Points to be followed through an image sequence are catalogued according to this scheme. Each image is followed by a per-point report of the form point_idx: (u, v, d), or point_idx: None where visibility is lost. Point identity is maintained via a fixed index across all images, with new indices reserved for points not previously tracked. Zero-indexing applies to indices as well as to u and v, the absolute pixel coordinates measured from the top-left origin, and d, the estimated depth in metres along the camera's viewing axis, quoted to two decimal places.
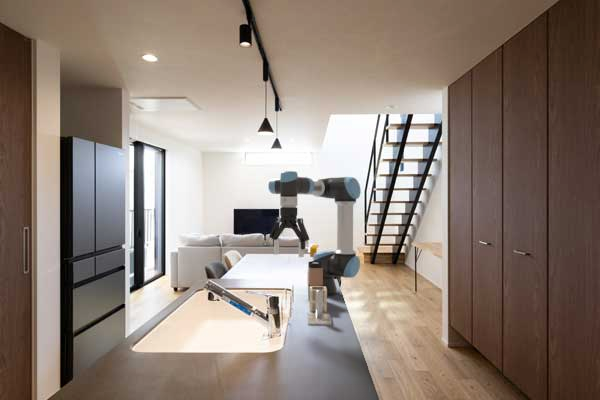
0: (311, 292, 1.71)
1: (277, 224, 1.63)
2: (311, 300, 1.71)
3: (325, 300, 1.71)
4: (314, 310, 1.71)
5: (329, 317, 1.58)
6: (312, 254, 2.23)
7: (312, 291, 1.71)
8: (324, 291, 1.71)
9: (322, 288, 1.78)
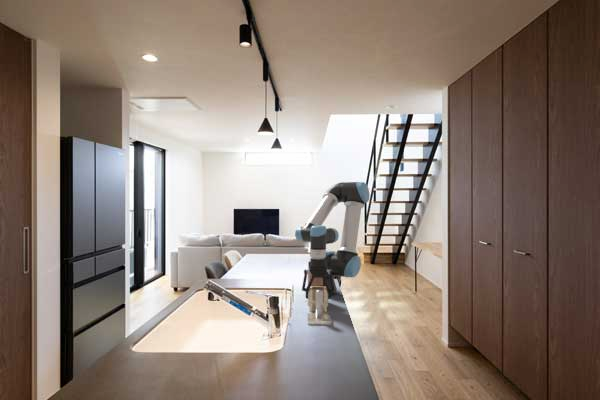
0: (311, 292, 1.71)
1: (306, 276, 1.75)
2: (311, 300, 1.71)
3: (325, 300, 1.71)
4: (314, 310, 1.71)
5: (329, 317, 1.58)
6: None
7: (312, 291, 1.71)
8: (324, 291, 1.71)
9: (322, 288, 1.78)
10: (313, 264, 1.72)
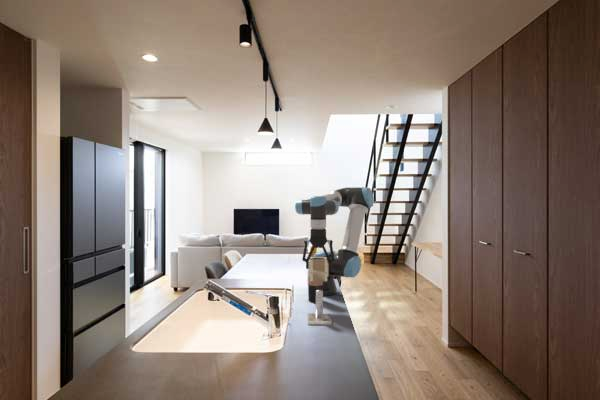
0: (311, 262, 1.71)
1: None
2: (311, 270, 1.72)
3: (325, 270, 1.72)
4: (314, 280, 1.72)
5: (329, 317, 1.58)
6: (312, 254, 2.23)
7: (312, 261, 1.71)
8: (324, 261, 1.71)
9: (322, 259, 1.78)
10: (313, 234, 1.73)
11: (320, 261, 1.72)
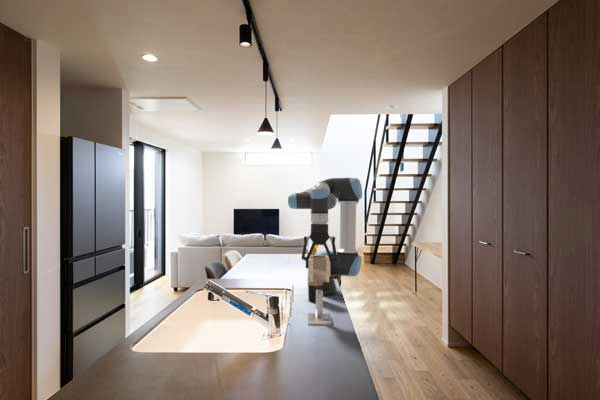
0: (312, 260, 1.54)
1: (306, 243, 1.58)
2: (312, 269, 1.54)
3: (327, 269, 1.54)
4: (315, 280, 1.54)
5: (329, 317, 1.58)
6: (312, 254, 2.23)
7: (313, 259, 1.54)
8: (326, 259, 1.54)
9: (324, 257, 1.61)
10: (314, 229, 1.56)
11: (321, 259, 1.54)
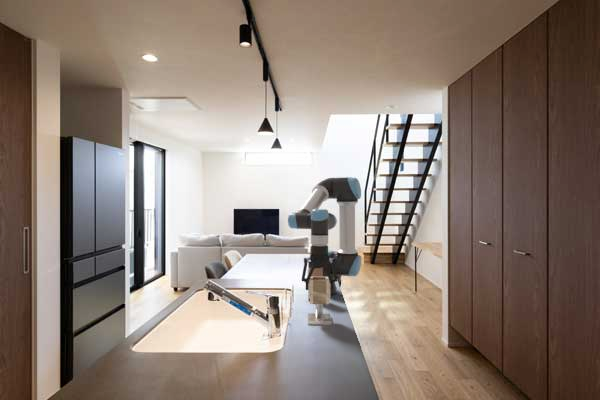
0: (312, 282, 1.54)
1: (306, 265, 1.58)
2: (312, 291, 1.54)
3: (327, 291, 1.54)
4: (315, 302, 1.54)
5: (329, 317, 1.58)
6: None
7: (313, 281, 1.54)
8: (326, 281, 1.54)
9: (324, 278, 1.61)
10: (314, 251, 1.55)
11: (321, 282, 1.54)
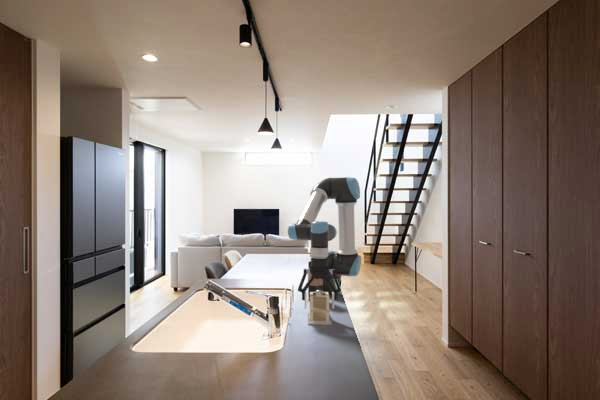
0: (312, 299, 1.54)
1: (305, 276, 1.58)
2: (312, 307, 1.54)
3: (327, 307, 1.54)
4: (315, 319, 1.54)
5: (329, 317, 1.58)
6: None
7: (313, 297, 1.54)
8: (326, 297, 1.54)
9: (324, 294, 1.61)
10: (314, 264, 1.55)
11: (321, 298, 1.54)
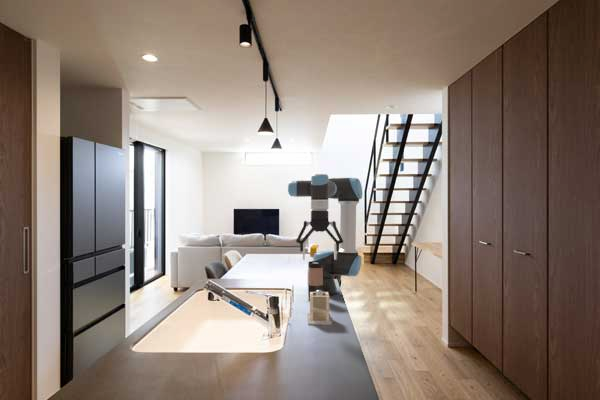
0: (312, 299, 1.54)
1: None
2: (312, 307, 1.54)
3: (327, 307, 1.54)
4: (315, 319, 1.54)
5: (329, 317, 1.58)
6: (312, 254, 2.23)
7: (313, 297, 1.54)
8: (326, 297, 1.54)
9: (324, 294, 1.61)
10: (314, 216, 1.55)
11: (321, 298, 1.54)
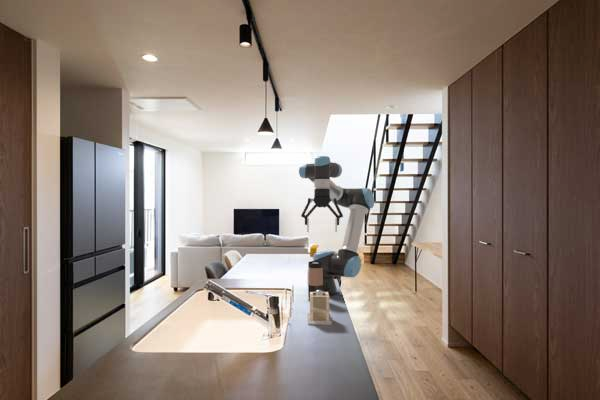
0: (312, 299, 1.54)
1: (309, 204, 1.78)
2: (312, 307, 1.54)
3: (327, 307, 1.54)
4: (315, 319, 1.54)
5: (329, 317, 1.58)
6: (312, 254, 2.23)
7: (313, 297, 1.54)
8: (326, 297, 1.54)
9: (324, 294, 1.61)
10: (317, 193, 1.75)
11: (321, 298, 1.54)
